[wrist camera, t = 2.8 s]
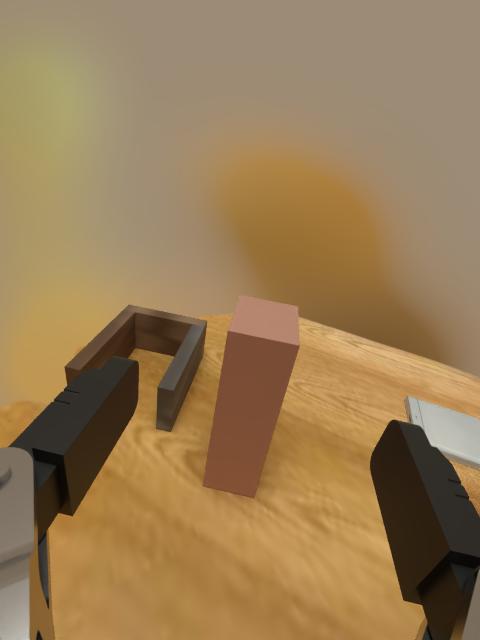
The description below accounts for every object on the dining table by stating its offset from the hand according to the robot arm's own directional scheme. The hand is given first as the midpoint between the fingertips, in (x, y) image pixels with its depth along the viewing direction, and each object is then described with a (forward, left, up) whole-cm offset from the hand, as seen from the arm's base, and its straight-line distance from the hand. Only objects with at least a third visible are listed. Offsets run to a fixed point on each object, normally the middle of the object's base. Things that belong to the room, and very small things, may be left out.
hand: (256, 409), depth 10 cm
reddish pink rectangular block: (0, -12, -19) cm, 22 cm away
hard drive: (-26, -22, -20) cm, 39 cm away
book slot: (+12, -20, -19) cm, 30 cm away
